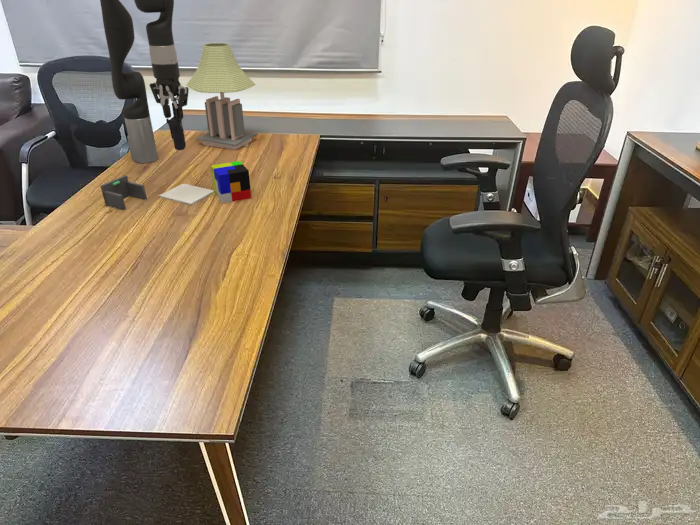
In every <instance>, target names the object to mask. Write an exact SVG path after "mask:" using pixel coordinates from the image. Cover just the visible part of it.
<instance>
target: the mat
mask: <svg viewBox="0 0 700 525" xmlns="http://www.w3.org/2000/svg"><path fill="white" fill-rule="evenodd" d="M213 194H215V191H214V190H213V189H209V188H205V187H200V186H196V185H193V184H187V183H180V184H179V185H177V186H175V187H173V188H171V189H169V190H167V191H164V192H163V193H161V194H159V195H158V197H159V198H162V199H165V200H169V201H173V202H177V203H181V204H184V205H188V206H193V205H194V204H196V203H198V202H200V201H202V200H204V199H206V198H207V197H209V196H211V195H213Z"/></svg>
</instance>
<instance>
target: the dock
mask: <svg viewBox="0 0 700 525" xmlns="http://www.w3.org/2000/svg"><path fill="white" fill-rule="evenodd" d="M99 186H100V188H101V193H102V196H103V200H104V205H105V206H106V207H111V208H113V209H118V210H121V211H126V210H127V206H126V204H125V199H126V198H128V197H131V198H136V199H138V200H143V201H146V200H148V197H147V194H146V188H145V185H144V184H141V183H136V182H134V181H129V177H128V175H122V176H119V177H118V178H115V179H112V180H110V181H108V182H105V183H103V184H100V185H99Z"/></svg>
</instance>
